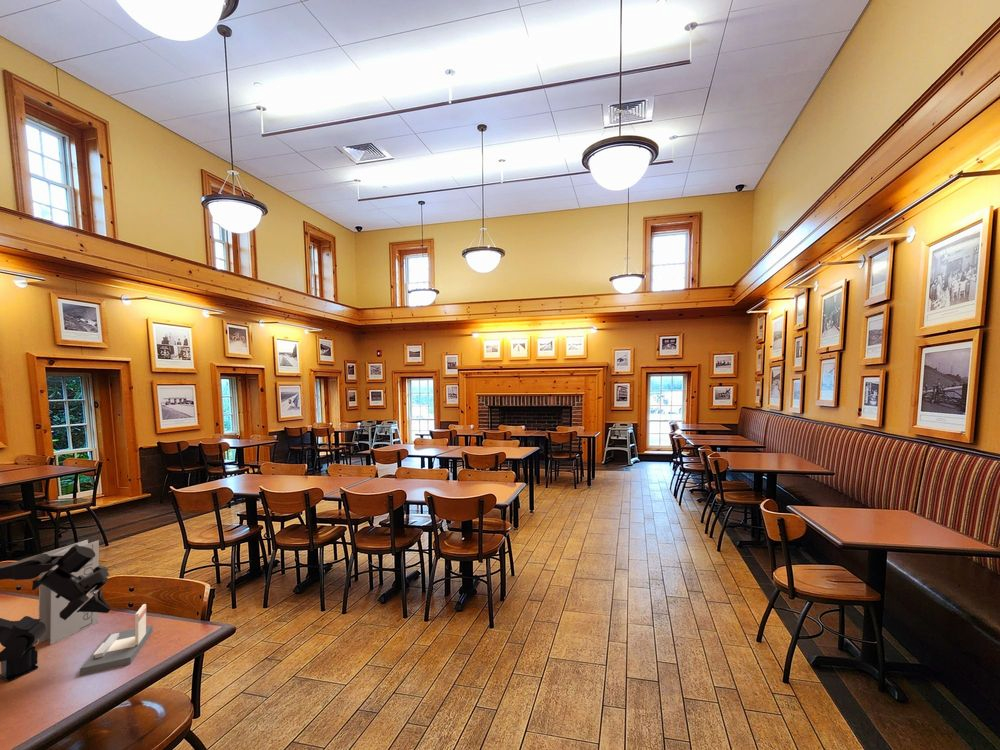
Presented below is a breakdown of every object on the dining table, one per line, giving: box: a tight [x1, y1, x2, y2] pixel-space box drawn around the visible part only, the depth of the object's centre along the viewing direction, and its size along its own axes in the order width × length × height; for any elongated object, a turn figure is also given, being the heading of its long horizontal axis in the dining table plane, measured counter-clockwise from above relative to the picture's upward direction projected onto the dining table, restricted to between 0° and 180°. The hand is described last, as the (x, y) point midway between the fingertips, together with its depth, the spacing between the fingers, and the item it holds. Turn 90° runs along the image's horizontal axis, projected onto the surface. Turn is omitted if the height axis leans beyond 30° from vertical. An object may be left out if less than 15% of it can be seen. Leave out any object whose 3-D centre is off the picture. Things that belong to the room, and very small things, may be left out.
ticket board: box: [79, 624, 154, 676], centre depth 138 cm, size 12×20×3 cm, turn 24°
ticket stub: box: [134, 603, 147, 645], centre depth 141 cm, size 1×7×10 cm, turn 24°
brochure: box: [38, 539, 100, 645], centre depth 151 cm, size 14×6×30 cm, turn 168°
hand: (109, 611), depth 138 cm, fingers closed
